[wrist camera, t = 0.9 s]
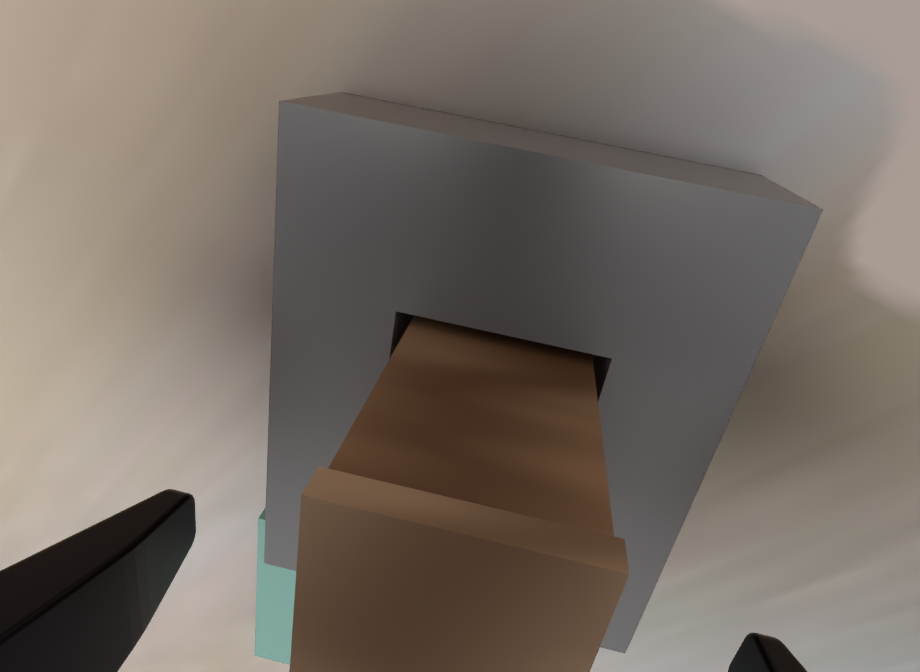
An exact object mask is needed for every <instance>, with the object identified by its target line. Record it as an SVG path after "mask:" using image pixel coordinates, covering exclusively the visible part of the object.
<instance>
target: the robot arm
mask: <svg viewBox="0 0 920 672" xmlns="http://www.w3.org/2000/svg"><path fill="white" fill-rule="evenodd" d="M195 533H196V522H195V501H194V497H193V496H192V495H191V494H189V493H185V492H181V491H177V490H173V489H168V490H164V491H162V492H160V493H158V494H156V495H154V496H152V497H150V498H148V499H146V500H144V501H142V502H140V503H138V504H136V505H134V506H132V507H129V508H127V509H125V510H123V511H121V512H119V513H117V514H115V515H113V516H111V517H109V518H107V519H105V520H103V521H101V522H99V523H97V524H95V525H93V526H91V527H89V528H87V529H85V530H83V531H81V532H79V533H77V534H74V535H72V536H70V537H68V538H66V539H64V540H62V541H60V542H58V543H56V544H54V545H52V546H50V547H48V548H46V549H44V550H42V551H40V552H38V553H36V554H34V555H32V556H30V557H28V558H26V559H24V560H22V561H19V562H17V563H15V564H13V565H11V566H9V567H7V568H5V569H3V570H1V571H0V672H117V671H118V670H119V669H120V667H121V666H122V664H123V663H124V661H125V660H126V658H127V657H128V655H129V654H130V652H131V651H132V650H133V648H134V647H135V645H136V643H137V642H138V640H139V639H140V637H141V636H142V634H143V633H144V631H145V629H146V628H147V626H148V624H149V622H150V621H151V619H152V617H153V615H154V613H155V612H156V610H157V608H158V606H159V604H160V603H161V601H162V599H163V597H164V595H165V593H166V592H167V590H168V588H169V586H170V584H171V582H172V581H173V579H174V577H175V575H176V573H177V572H178V570H179V568H180V566H181V564H182V562H183V561H184V559H185V557H186V555H187V553H188V552H189V550H190V548H191V546H192V544H193V541H194V538H195ZM728 672H807V671H806V670H805V668H804V667H803V666H802V665H801V664H800V663H799V661H798V660H797V659H796V658H795V657H794V656H793V654H792V653H791V652H790V651H789V650H788V649H787V647H786V646H785V645H784V644H783V643H782V642H781V641H780V640H778V639H776V638H774V637H770V636H766V635H762V634H758V633H750V634H748V635H747V636H746V637H745V639H744V641H743V643H742V644H741V646H740V648H739V650H738V651H737V653H736V655H735V657H734V658H733V660H732V662H731V664H730V666H729V670H728Z"/></svg>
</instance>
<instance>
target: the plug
mask: <svg viewBox="0 0 920 672" xmlns="http://www.w3.org/2000/svg"><path fill="white" fill-rule="evenodd" d="M629 575H630V573H629V566H628V559H627V552H626V545H625V539H623V538H618V537H614V530H613V522H612V514H611V506H610V498H609V489H608V481H607V473H606V465H605V456H604V448H603V440H602V432H601V423H600V415H599V407H598V399H597V390H596V382H595V374H594V366H593V357H592V354H588V353H584V352H579V351H575V350H570V349H566V348H561V347H557V346H552V345H547V344H543V343H538V342H534V341H529V340H525V339H520V338H516V337H511V336H506V335H502V334H497V333H493V332H488V331H484V330H479V329H475V328H470V327H465V326H461V325H456V324H452V323H447V322H443V321H438V320H434V319H429V318H424V317H420V316H415V315H414V317H413V319H412V320H411V322H410V324H409V326H408V327H407V329H406V331H405V333H404V334H403V336H402V338H401V340H400V342H399V343H398V345H397V347H396V349H395V350H394V352H393V354H392V356H391V358H390V359H389V361H388V363H387V365H386V366H385V368H384V370H383V372H382V373H381V375H380V377H379V379H378V381H377V382H376V384H375V386H374V388H373V389H372V391H371V393H370V395H369V397H368V398H367V400H366V402H365V404H364V405H363V407H362V409H361V411H360V413H359V414H358V416H357V418H356V420H355V421H354V423H353V425H352V427H351V428H350V430H349V432H348V434H347V436H346V437H345V439H344V441H343V443H342V444H341V446H340V448H339V450H338V452H337V453H336V455H335V457H334V459H333V460H332V462H331V464H330V466H329V467H328V468H324V467H320V466H318V468H317V470H316V471H315V473H314V475H313V476H312V478H311V480H310V481H309V483H308V485H307V486H306V488H305V490H304V492H303V493H302V495H301V508H300V523H299V538H298V553H297V568H296V583H295V598H294V612H293V627H292V642H291V657H290V672H590V669H591V667H592V664H593V662H594V659H595V657H596V655H597V652H598V650H599V647H600V645H601V643H602V640H603V638H604V635H605V633H606V630H607V628H608V626H609V623H610V621H611V618H612V616H613V613H614V611H615V609H616V606H617V604H618V601H619V599H620V597H621V594H622V592H623V589H624V587H625V584H626V582H627V580H628V577H629Z"/></svg>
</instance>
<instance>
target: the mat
mask: <svg viewBox="0 0 920 672" xmlns="http://www.w3.org/2000/svg"><path fill="white" fill-rule="evenodd" d="M265 516H266V508H265V509H264V511H263V512H262V514H261V515H260V517H259V519H258V556H257V594H256V632H255V656H258V657H262V658H266V659H270V660H274V661H278V662H281V663H285V664H289V665H290V657H291V642H292V627H293V612H294V598H295V583H296V571H293V570H289V569H285V568H281V567H277V566H273V565H269V564H265V563H264V546H265Z"/></svg>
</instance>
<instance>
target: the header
mask: <svg viewBox="0 0 920 672" xmlns="http://www.w3.org/2000/svg"><path fill="white" fill-rule="evenodd" d="M822 211H823V209H821V208H819V207H817V206H815V205H814V204H812V203H810V202H808V201H806V200H805V199H803V198H801V197H799V196H797V195H796V194H794V193H792V192H790V191H788V190H786V189H785V188H783V187H781V186H779V185H777V184H776V183H774V182H772V181H770V180H768V179H767V178H765V177H763V176H761V175H756V174H751V173H746V172H741V171H736V170H731V169H726V168H720V167H715V166H710V165H705V164H700V163H695V162H690V161H685V160H680V159H675V158H670V157H665V156H660V155H655V154H650V153H645V152H640V151H635V150H629V149H624V148H619V147H614V146H609V145H604V144H599V143H594V142H589V141H584V140H579V139H574V138H569V137H564V136H559V135H554V134H549V133H543V132H538V131H533V130H528V129H523V128H518V127H513V126H508V125H503V124H498V123H493V122H488V121H483V120H478V119H473V118H468V117H463V116H458V115H452V114H447V113H442V112H437V111H432V110H427V109H422V108H417V107H412V106H407V105H402V104H397V103H392V102H387V101H382V100H377V99H372V98H366V97H361V96H356V95H351V94H346V93H333V94H326V95H319V96H312V97H304V98H297V99H290V100H283V101H279V126H278V156H277V186H276V216H275V246H274V276H273V306H272V336H271V366H270V396H269V426H268V456H267V486H266V516H265V546H264V563H265V564H269V565H273V566H277V567H281V568H285V569H289V570H293V571H296V568H297V553H298V538H299V523H300V508H301V495H302V493H303V492H304V490H305V488H306V486H307V485H308V483H309V481H310V480H311V478H312V476H313V475H314V473H315V471H316V470H317V468H318V466H320V467H324V468H328V467H329V466H330V464H331V462H332V460H333V459H334V457H335V455H336V453H337V452H338V450H339V448H340V446H341V444H342V443H343V441H344V439H345V437H346V436H347V434H348V432H349V430H350V428H351V427H352V425H353V423H354V421H355V420H356V418H357V416H358V414H359V413H360V411H361V409H362V407H363V405H364V404H365V402H366V400H367V398H368V397H369V395H370V393H371V391H372V389H373V388H374V386H375V384H376V382H377V381H378V379H379V377H380V375H381V373H382V372H383V370H384V368H385V366H386V365H387V363H388V361H389V359H390V358H391V356H392V354H393V352H394V350H395V349H396V347H397V345H398V343H399V342H400V340H401V338H402V336H403V334H404V333H405V331H406V329H407V327H408V326H409V324H410V322H411V320H412V319H413V317H414V315H415V316H420V317H424V318H429V319H434V320H438V321H443V322H447V323H452V324H456V325H461V326H465V327H470V328H475V329H479V330H484V331H488V332H493V333H497V334H502V335H506V336H511V337H516V338H520V339H525V340H529V341H534V342H538V343H543V344H547V345H552V346H557V347H561V348H566V349H570V350H575V351H579V352H584V353H588V354H592V357H593V366H594V374H595V382H596V390H597V399H598V407H599V415H600V423H601V432H602V440H603V448H604V456H605V465H606V473H607V481H608V489H609V498H610V506H611V514H612V522H613V530H614V537H618V538H623V539H625V545H626V552H627V559H628V566H629V573H630V575H629V577H628V580H627V582H626V584H625V587H624V589H623V592H622V594H621V597H620V599H619V601H618V604H617V606H616V609H615V611H614V613H613V616H612V618H611V621H610V623H609V626H608V628H607V630H606V633H605V635H604V638H603V640H602V643H601V645H600V647H602V648H606V649H610V650H614V651H618V652H622V653H626V650H627V648H628V646H629V644H630V641H631V639H632V637H633V635H634V632H635V630H636V628H637V626H638V624H639V621H640V619H641V617H642V615H643V612H644V610H645V608H646V606H647V603H648V601H649V599H650V597H651V594H652V592H653V590H654V588H655V585H656V583H657V581H658V579H659V576H660V574H661V572H662V570H663V567H664V565H665V563H666V561H667V558H668V556H669V554H670V552H671V549H672V547H673V545H674V543H675V540H676V538H677V536H678V534H679V532H680V529H681V527H682V525H683V523H684V520H685V518H686V516H687V514H688V511H689V509H690V507H691V505H692V502H693V500H694V498H695V496H696V493H697V491H698V489H699V487H700V484H701V482H702V480H703V478H704V475H705V473H706V471H707V469H708V466H709V464H710V462H711V460H712V457H713V455H714V453H715V451H716V448H717V446H718V444H719V442H720V439H721V437H722V435H723V433H724V431H725V428H726V426H727V424H728V422H729V419H730V417H731V415H732V413H733V410H734V408H735V406H736V404H737V401H738V399H739V397H740V395H741V392H742V390H743V388H744V386H745V383H746V381H747V379H748V377H749V374H750V372H751V370H752V368H753V365H754V363H755V361H756V359H757V356H758V354H759V352H760V350H761V347H762V345H763V343H764V341H765V339H766V336H767V334H768V332H769V330H770V327H771V325H772V323H773V321H774V318H775V316H776V314H777V312H778V309H779V307H780V305H781V303H782V300H783V298H784V296H785V294H786V291H787V289H788V287H789V285H790V282H791V280H792V278H793V276H794V273H795V271H796V269H797V267H798V264H799V262H800V260H801V258H802V255H803V253H804V251H805V249H806V246H807V244H808V242H809V240H810V238H811V235H812V233H813V231H814V229H815V226H816V224H817V222H818V220H819V217H820V215H821V213H822Z"/></svg>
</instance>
